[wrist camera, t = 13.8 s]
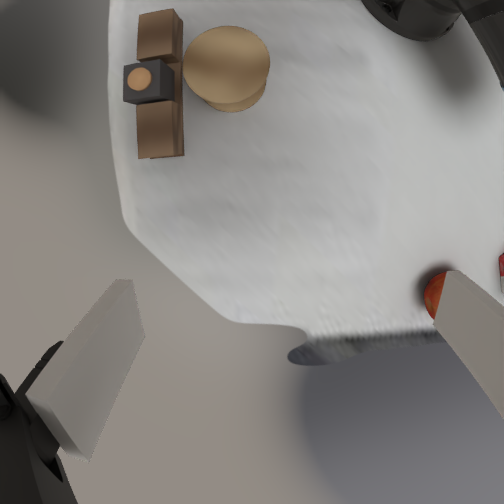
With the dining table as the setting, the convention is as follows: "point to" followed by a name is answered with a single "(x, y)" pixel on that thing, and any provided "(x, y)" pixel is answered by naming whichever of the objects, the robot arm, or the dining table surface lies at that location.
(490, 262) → the dining table surface
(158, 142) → the brown wooden u-shaped block
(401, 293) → the dining table surface
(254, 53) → the wooden spool
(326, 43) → the dining table surface
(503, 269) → the ink box
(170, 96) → the dark grey rectangular block
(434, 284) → the apple
